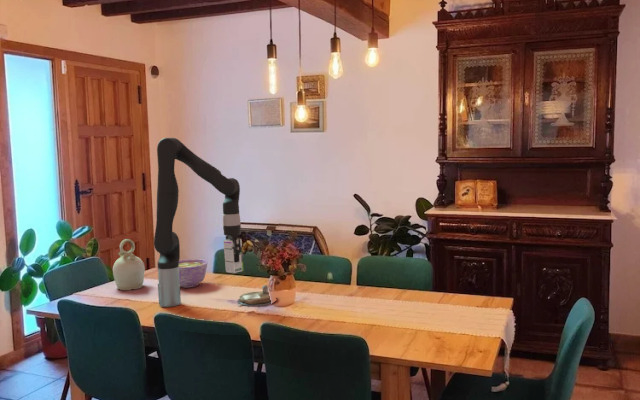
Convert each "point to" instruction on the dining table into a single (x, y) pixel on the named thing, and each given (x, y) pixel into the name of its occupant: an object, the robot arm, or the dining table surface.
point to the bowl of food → (191, 272)
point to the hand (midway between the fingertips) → (234, 260)
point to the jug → (128, 269)
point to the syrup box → (232, 257)
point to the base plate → (252, 304)
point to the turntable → (256, 297)
